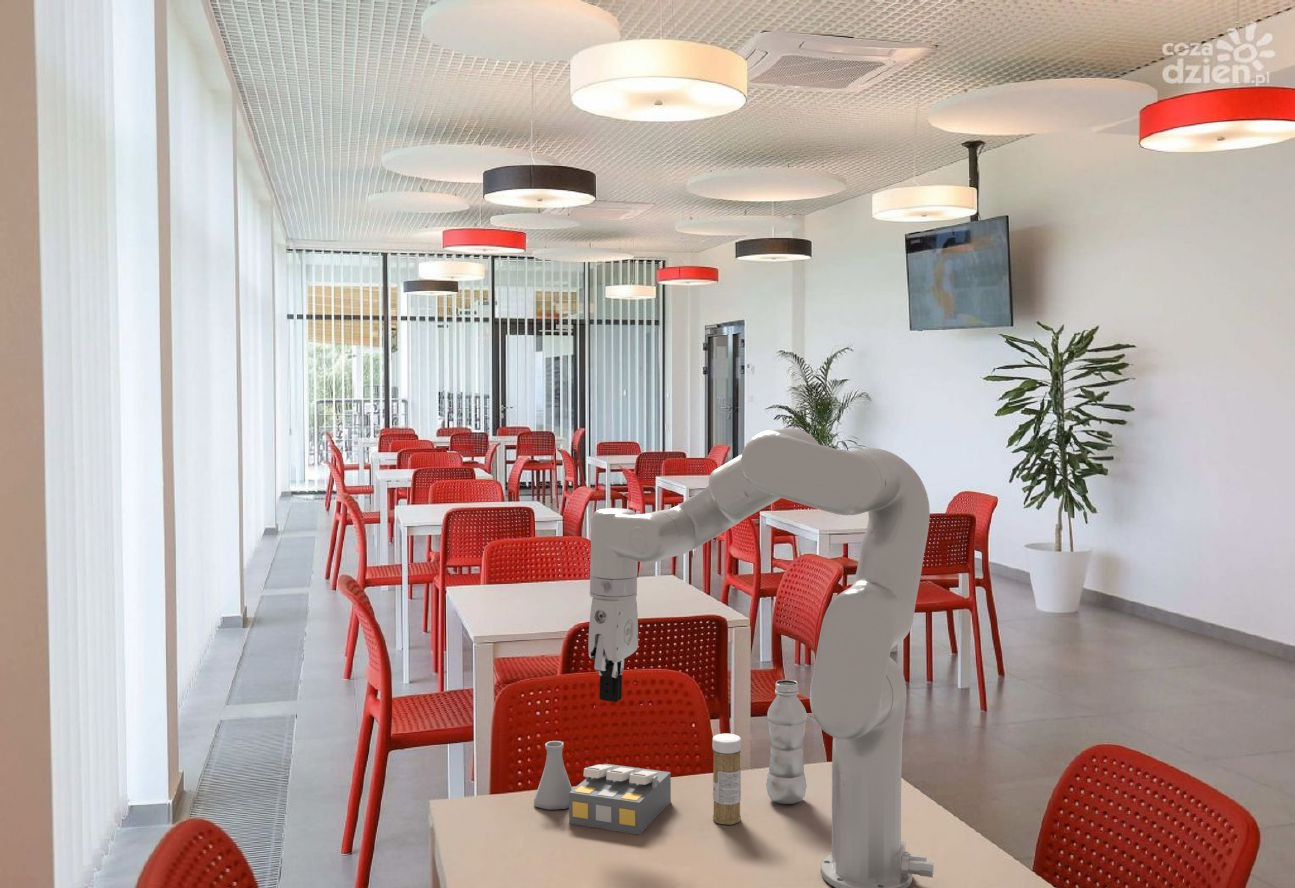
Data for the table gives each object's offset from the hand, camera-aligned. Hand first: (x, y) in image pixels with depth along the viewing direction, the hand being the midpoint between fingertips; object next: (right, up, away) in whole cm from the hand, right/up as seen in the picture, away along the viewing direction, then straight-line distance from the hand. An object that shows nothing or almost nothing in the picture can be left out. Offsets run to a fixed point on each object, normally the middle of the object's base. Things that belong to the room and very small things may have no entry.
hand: (610, 699), depth 167 cm
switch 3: (+5, -13, +1) cm, 14 cm away
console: (+2, -19, +3) cm, 19 cm away
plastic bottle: (+29, -19, +7) cm, 35 cm away
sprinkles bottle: (+19, -19, -1) cm, 27 cm away
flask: (-10, -19, +7) cm, 23 cm away
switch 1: (-2, -13, +4) cm, 13 cm away
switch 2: (+2, -13, +2) cm, 13 cm away
